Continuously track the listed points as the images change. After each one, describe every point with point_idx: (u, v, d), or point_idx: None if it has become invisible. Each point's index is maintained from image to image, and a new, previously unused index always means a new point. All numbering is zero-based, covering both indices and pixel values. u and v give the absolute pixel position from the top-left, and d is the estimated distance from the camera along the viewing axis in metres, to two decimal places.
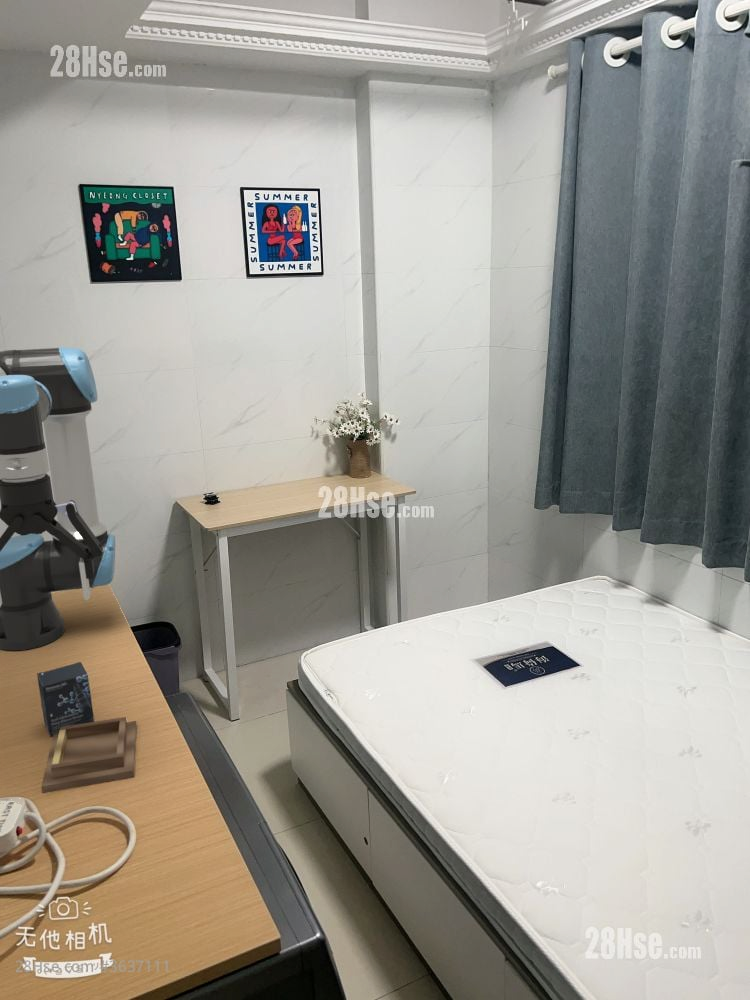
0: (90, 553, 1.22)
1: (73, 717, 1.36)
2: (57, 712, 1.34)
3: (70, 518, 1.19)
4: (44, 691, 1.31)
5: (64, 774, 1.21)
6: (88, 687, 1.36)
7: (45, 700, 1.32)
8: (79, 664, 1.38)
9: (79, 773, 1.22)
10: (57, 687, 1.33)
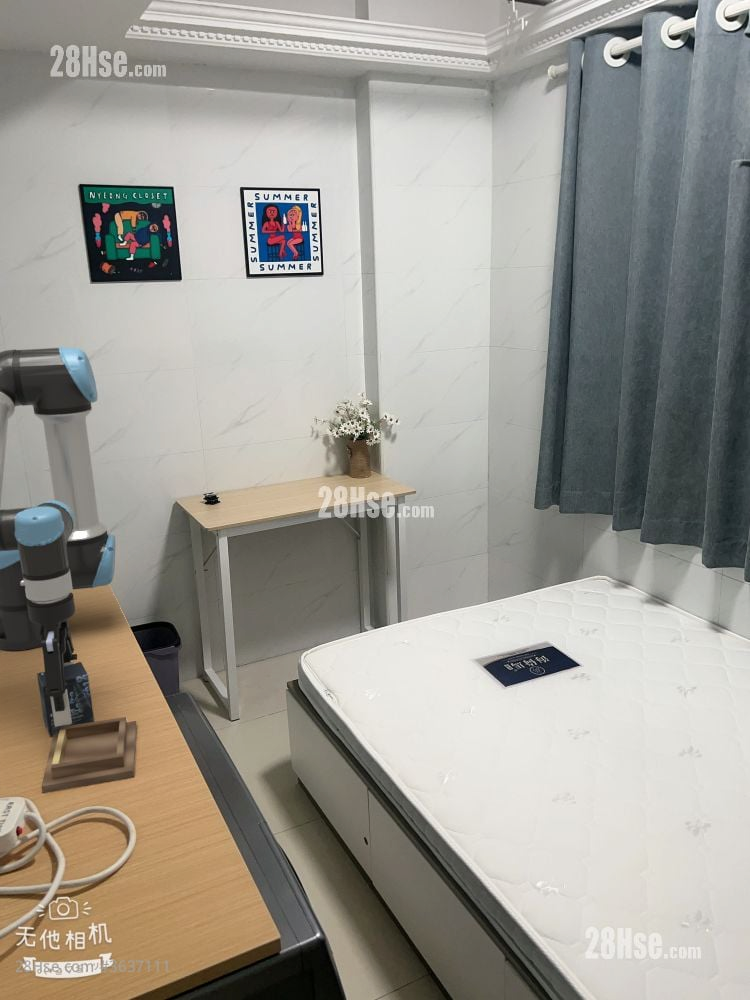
0: None
1: (73, 717, 1.36)
2: None
3: None
4: (44, 691, 1.31)
5: (64, 774, 1.21)
6: (88, 687, 1.36)
7: (45, 700, 1.32)
8: (79, 664, 1.38)
9: (79, 773, 1.22)
10: None
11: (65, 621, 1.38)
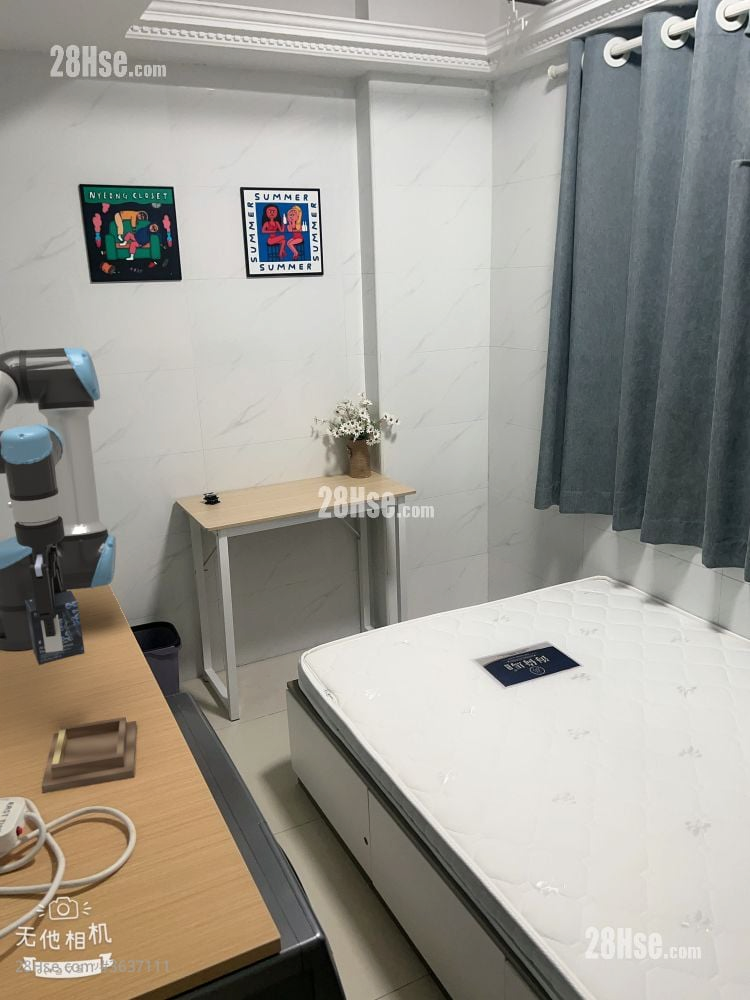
0: None
1: (63, 645, 1.32)
2: None
3: None
4: (32, 616, 1.28)
5: (64, 774, 1.21)
6: (78, 615, 1.32)
7: (33, 626, 1.28)
8: (69, 592, 1.34)
9: (79, 773, 1.22)
10: None
11: None
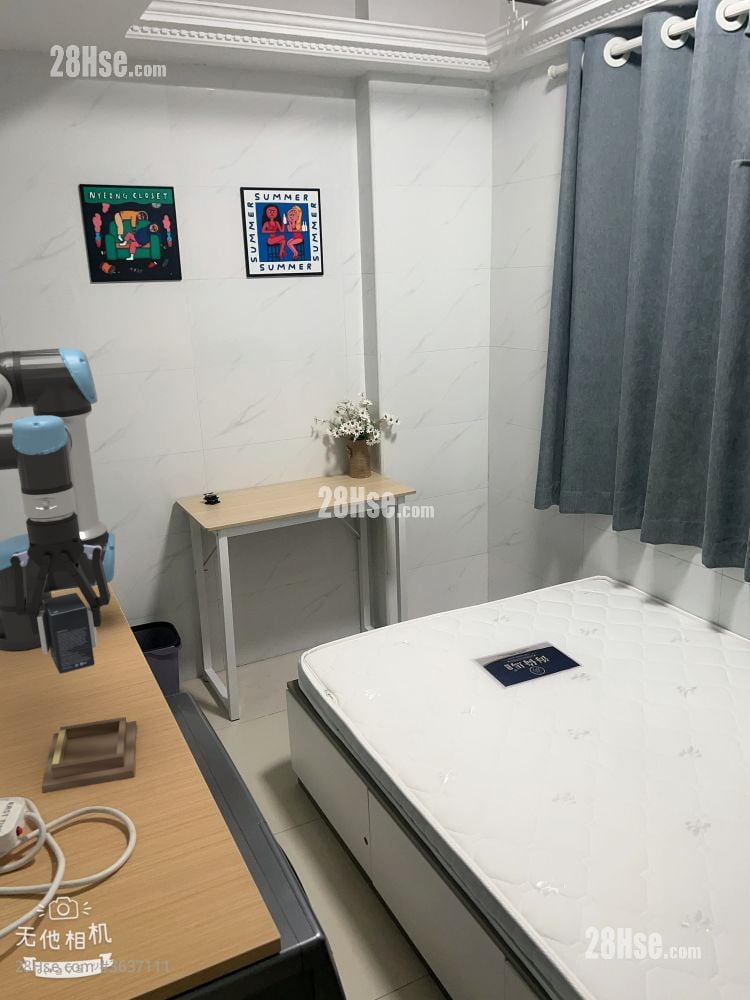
0: (97, 602, 1.23)
1: None
2: None
3: (93, 561, 1.21)
4: None
5: (64, 774, 1.21)
6: None
7: (88, 623, 1.22)
8: (49, 598, 1.24)
9: (79, 773, 1.22)
10: None
11: None
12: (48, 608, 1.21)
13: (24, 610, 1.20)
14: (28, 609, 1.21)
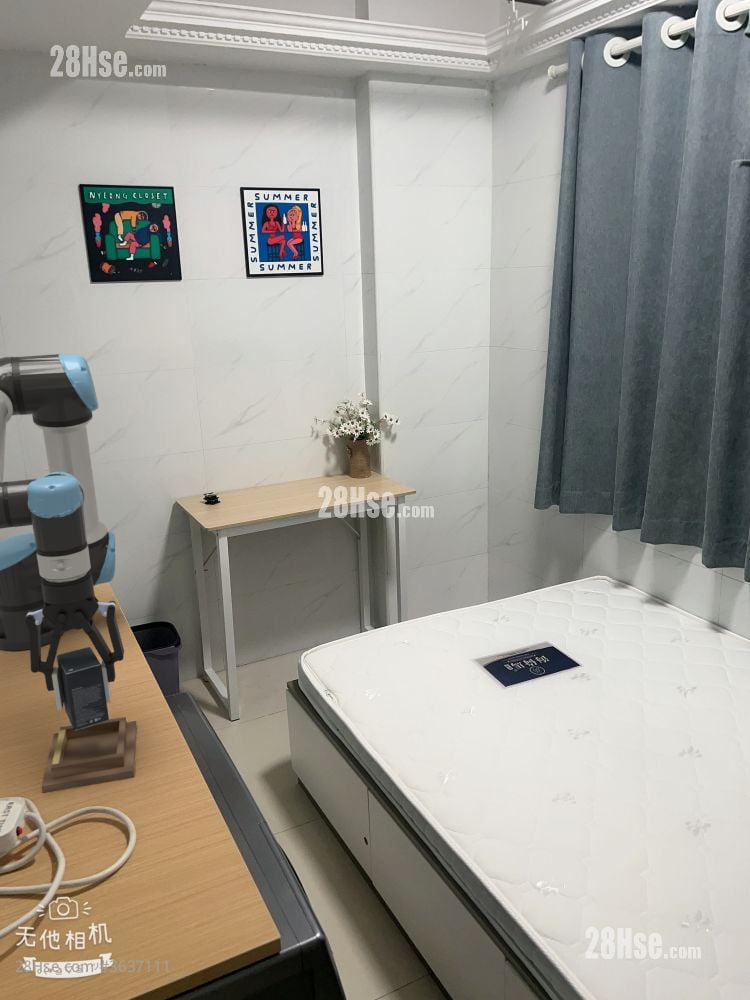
0: (112, 658, 1.24)
1: None
2: None
3: (107, 619, 1.21)
4: (101, 669, 1.22)
5: (64, 774, 1.21)
6: None
7: (102, 679, 1.22)
8: (63, 654, 1.25)
9: (79, 773, 1.22)
10: None
11: None
12: (63, 665, 1.21)
13: (39, 668, 1.21)
14: (43, 666, 1.21)
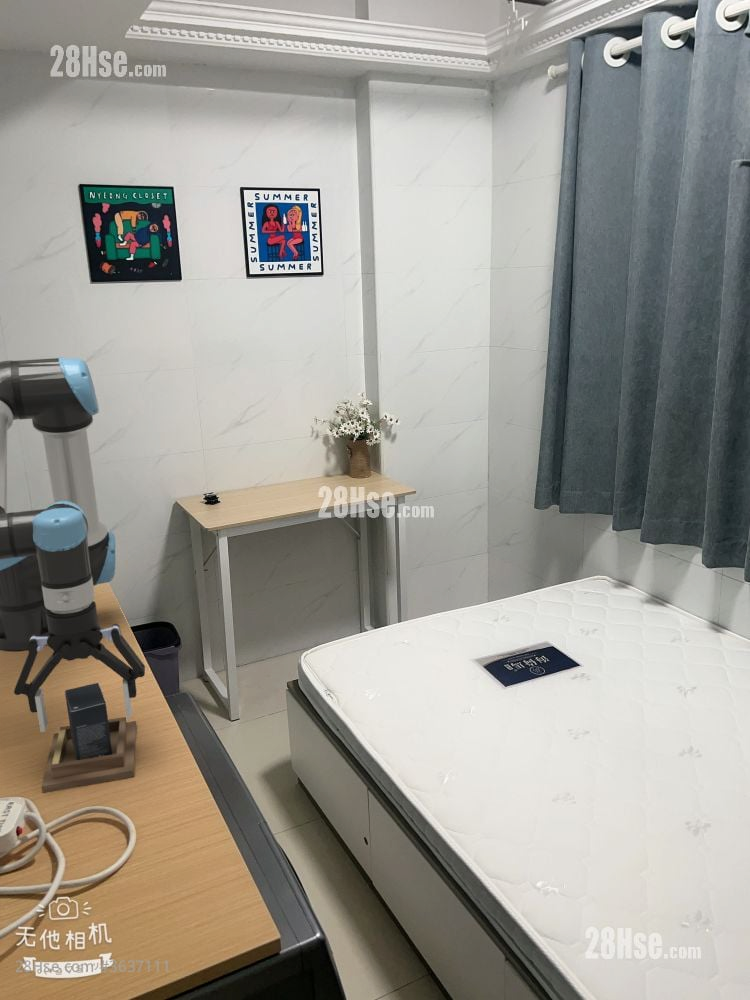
0: (133, 674, 1.25)
1: None
2: None
3: (115, 643, 1.23)
4: (106, 708, 1.24)
5: (64, 774, 1.21)
6: None
7: (107, 717, 1.24)
8: (71, 689, 1.27)
9: (79, 773, 1.22)
10: None
11: None
12: (69, 702, 1.24)
13: (22, 691, 1.21)
14: (27, 687, 1.21)
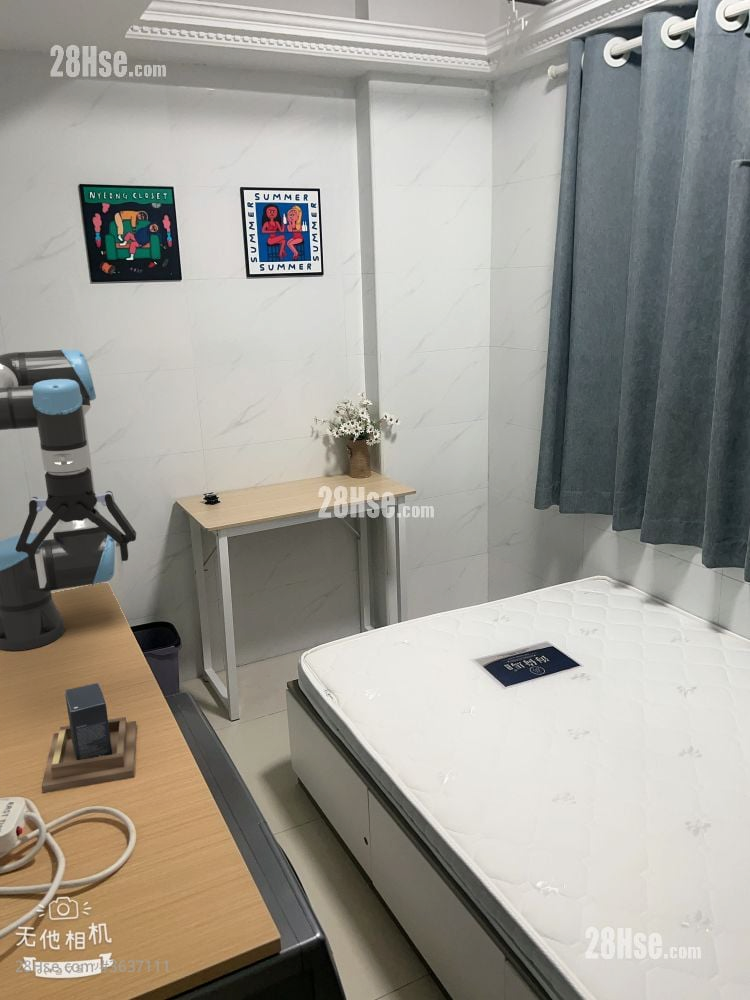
0: (125, 538, 1.36)
1: None
2: None
3: (108, 507, 1.33)
4: (106, 708, 1.24)
5: (64, 774, 1.21)
6: None
7: (107, 717, 1.24)
8: (71, 689, 1.27)
9: (79, 773, 1.22)
10: None
11: None
12: (69, 702, 1.24)
13: (23, 549, 1.32)
14: (28, 546, 1.32)
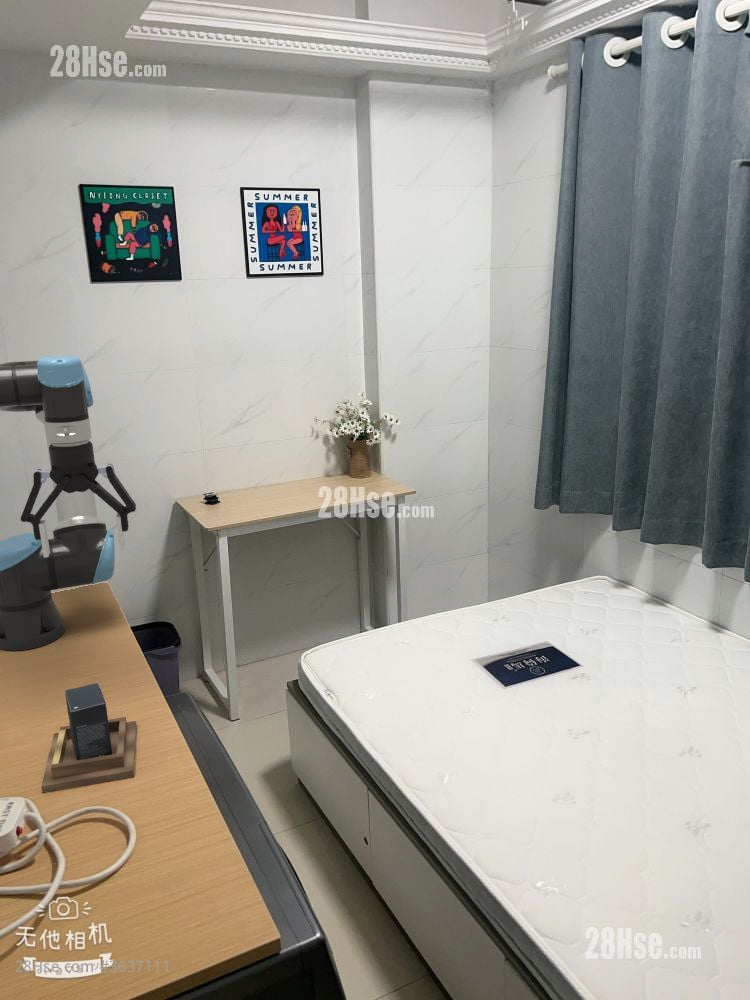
0: (125, 509, 1.42)
1: None
2: None
3: (109, 478, 1.40)
4: (106, 708, 1.24)
5: (64, 774, 1.21)
6: None
7: (107, 717, 1.24)
8: (71, 689, 1.27)
9: (79, 773, 1.22)
10: None
11: None
12: (69, 702, 1.24)
13: (27, 519, 1.38)
14: (32, 516, 1.38)
